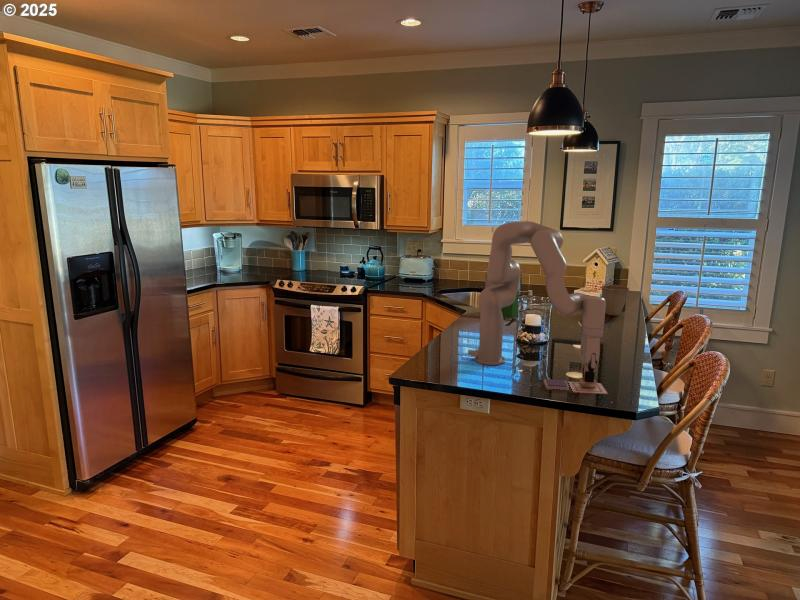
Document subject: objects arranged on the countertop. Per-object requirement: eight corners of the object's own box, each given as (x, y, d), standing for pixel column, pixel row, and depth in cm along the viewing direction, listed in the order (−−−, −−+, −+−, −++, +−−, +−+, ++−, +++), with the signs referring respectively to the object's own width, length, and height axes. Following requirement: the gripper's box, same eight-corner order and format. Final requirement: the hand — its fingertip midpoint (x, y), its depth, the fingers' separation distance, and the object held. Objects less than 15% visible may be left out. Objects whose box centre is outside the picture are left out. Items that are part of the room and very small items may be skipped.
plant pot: (595, 314, 307) (597, 287, 304) (604, 310, 318) (607, 284, 315) (621, 318, 297) (624, 290, 294) (630, 313, 308) (633, 287, 305)
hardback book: (484, 313, 305) (485, 272, 300) (490, 311, 311) (492, 271, 306) (511, 318, 295) (514, 276, 290) (517, 316, 300) (520, 274, 295)
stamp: (581, 387, 190) (584, 356, 188) (579, 383, 194) (581, 353, 192) (595, 388, 190) (598, 357, 187) (593, 384, 194) (595, 353, 191)
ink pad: (546, 389, 191) (546, 385, 190) (543, 382, 197) (543, 378, 197) (569, 390, 190) (569, 386, 189) (565, 383, 196) (565, 379, 196)
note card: (572, 392, 188) (572, 391, 188) (567, 382, 198) (567, 381, 198) (607, 394, 187) (607, 393, 187) (600, 383, 196) (600, 382, 196)
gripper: (576, 325, 196) (572, 371, 200) (586, 336, 180) (582, 387, 184) (597, 325, 195) (593, 372, 199) (609, 337, 179) (604, 388, 183)
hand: (587, 379), depth 191 cm, fingers closed on stamp, 3 cm apart
